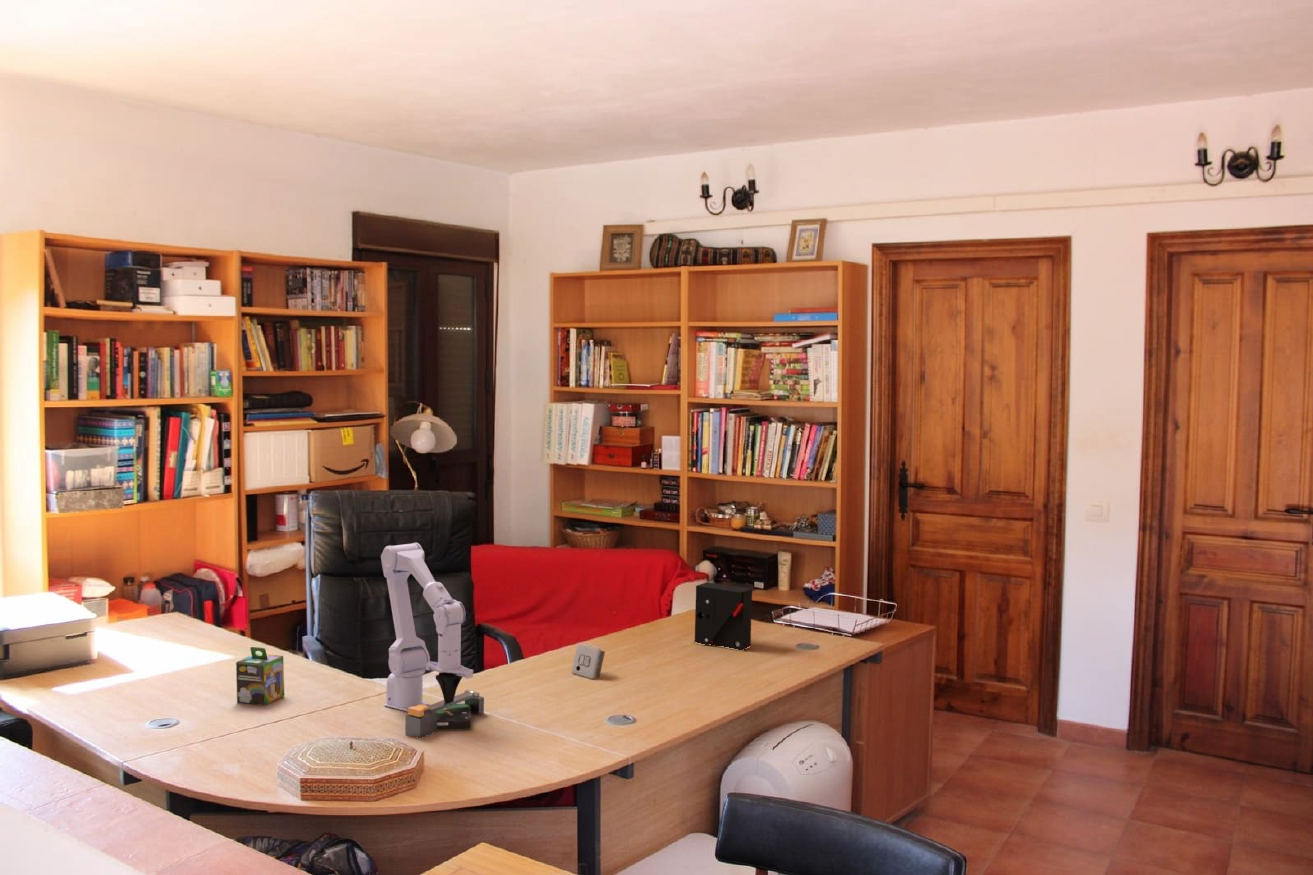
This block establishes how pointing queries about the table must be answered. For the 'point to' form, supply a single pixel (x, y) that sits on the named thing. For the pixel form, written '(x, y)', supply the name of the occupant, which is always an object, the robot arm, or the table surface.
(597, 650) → the electrical switch
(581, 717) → the table surface
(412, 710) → the orange stepped block
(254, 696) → the chalk box
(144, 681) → the table surface
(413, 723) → the shiny metal block
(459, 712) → the disk drive
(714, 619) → the electrical component
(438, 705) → the grey flat bar
